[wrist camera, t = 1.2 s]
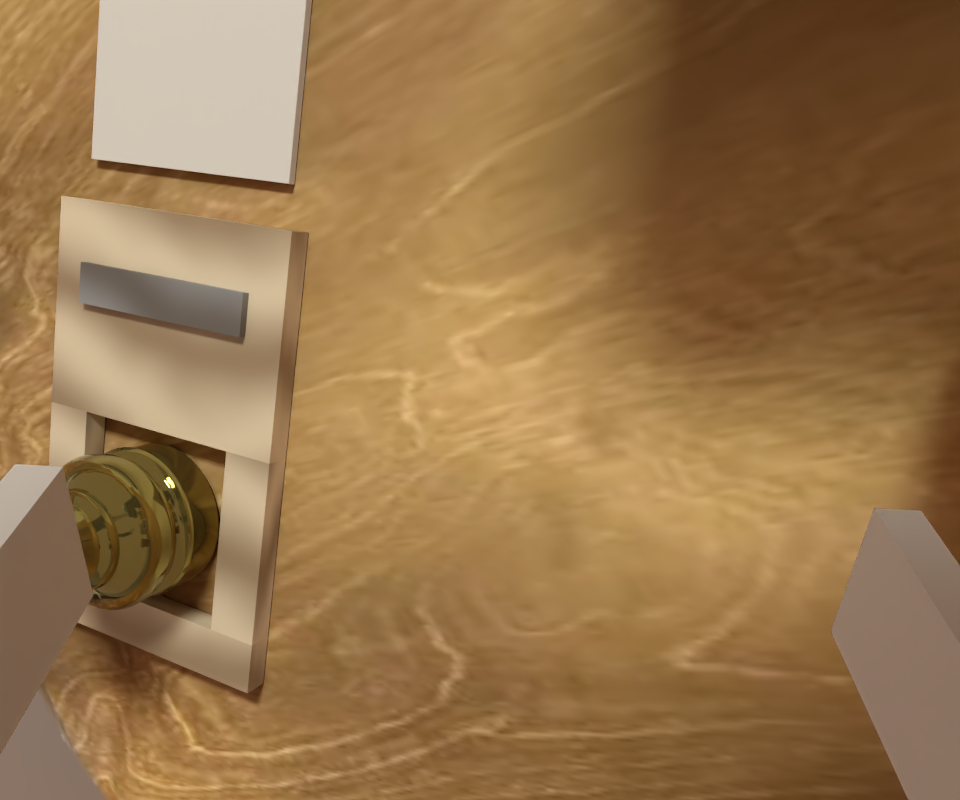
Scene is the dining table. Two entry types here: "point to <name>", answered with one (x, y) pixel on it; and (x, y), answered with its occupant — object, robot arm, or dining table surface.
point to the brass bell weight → (141, 521)
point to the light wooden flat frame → (185, 395)
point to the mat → (202, 85)
